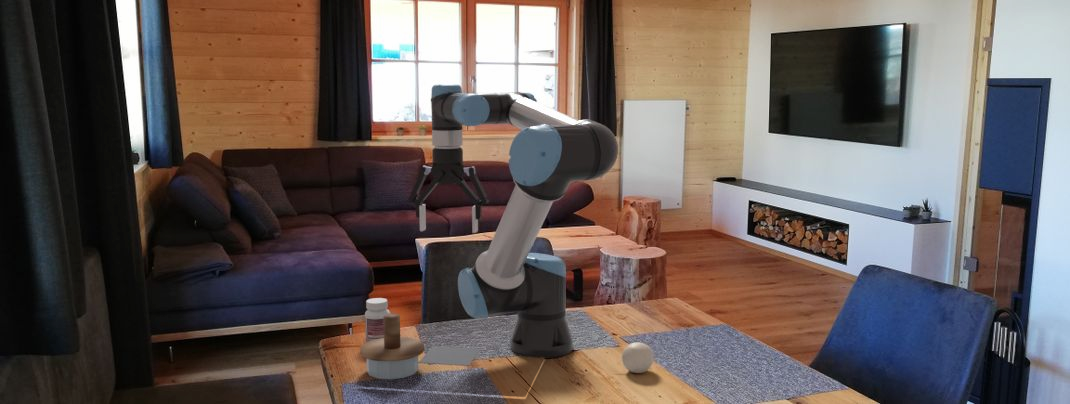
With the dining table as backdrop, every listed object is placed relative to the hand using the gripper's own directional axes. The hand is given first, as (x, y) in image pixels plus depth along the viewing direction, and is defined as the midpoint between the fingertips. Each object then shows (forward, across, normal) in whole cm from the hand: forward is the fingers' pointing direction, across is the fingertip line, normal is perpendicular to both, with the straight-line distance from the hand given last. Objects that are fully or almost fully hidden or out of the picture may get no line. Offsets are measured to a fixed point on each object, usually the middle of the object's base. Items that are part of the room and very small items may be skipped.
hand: (448, 231), depth 216 cm
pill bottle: (+27, +15, +12) cm, 33 cm away
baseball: (+27, -49, +20) cm, 59 cm away
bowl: (+27, +5, +30) cm, 40 cm away
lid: (+22, +5, +30) cm, 37 cm away
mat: (+27, -5, +18) cm, 33 cm away
